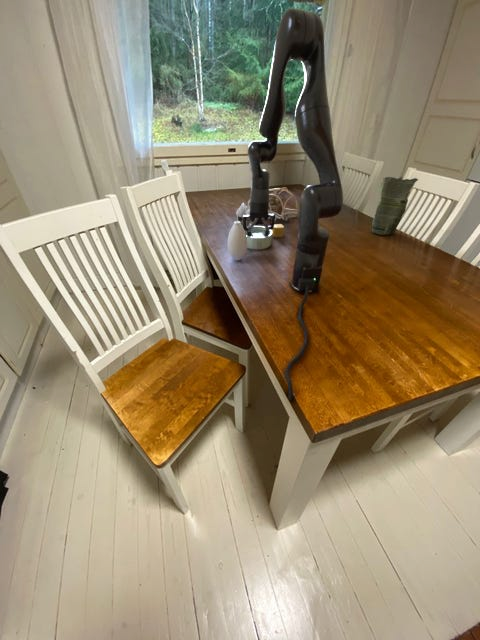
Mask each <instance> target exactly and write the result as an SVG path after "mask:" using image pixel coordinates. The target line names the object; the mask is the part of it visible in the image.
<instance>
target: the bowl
mask: <svg viewBox="0 0 480 640" xmlns="http://www.w3.org/2000/svg"><path fill="white" fill-rule="evenodd" d="M265 229H266V228H265V226H263V225H254V227H253V228H252V230H251V237H249V236H247V231H245V233H246V237H247V249H249V250H256V251H257V250H265V249H267V248H269V247H271V246H272V244H273V243H272V241H273V235H272V229H271V230H269V235H268V236H266V237H265ZM252 233H262V234H263V236H264V237H258V238H257V237H252Z"/></svg>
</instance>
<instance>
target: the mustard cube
mask: <svg viewBox="0 0 480 640" xmlns="http://www.w3.org/2000/svg"><path fill="white" fill-rule="evenodd" d="M271 230H272V238H284V235H285V233H284V232H285V226H284V225H283V224H282V223H274V229H271Z"/></svg>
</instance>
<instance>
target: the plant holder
mask: <svg viewBox="0 0 480 640" xmlns="http://www.w3.org/2000/svg"><path fill="white" fill-rule="evenodd" d="M272 191H273V192H272ZM269 192H271V193H269V207H268V214H272V213H273V214H274V215H275V221H276V220H277V219H282V220H284V221H286V222H288V219H289V218H292V217H295V218H296V217H297V216H296V215H294V214H298V212H300V203H299V200H298V197H297V196H296V195H294V194H293V193H292V191H290V190H289V189H288V187H286V186H282V187H275V188H269ZM277 192H278V193H277ZM282 192H286V193H287V194H288V195H289V197H288V198H286V197H285V195H284V194H282ZM291 198H293V199H294V201H295V208H290V207H289V208H288V207H286V206H287V204H288V201H289V200H290V199H291ZM280 212H281V213H280ZM279 213H280V214H279ZM249 214H250V199H248V201H247V204H245V203H244V202H242V203H241V205H240V206H239V208H237V210H236V212H235V215H236V216H237V215H238V218H242V215H249ZM286 215H287V216H286ZM268 219H269V220H270V217H269V218H268ZM248 220H250V218H248Z"/></svg>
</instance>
